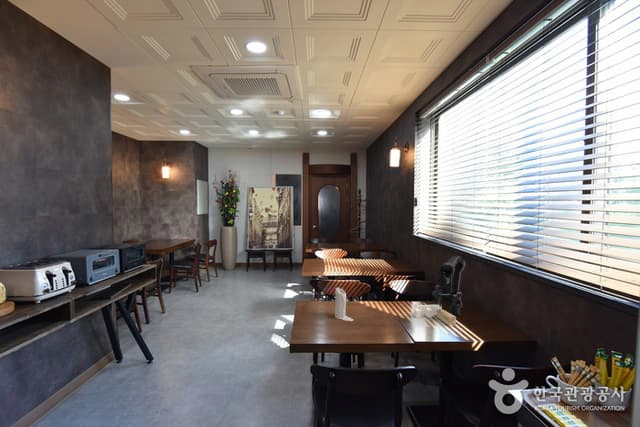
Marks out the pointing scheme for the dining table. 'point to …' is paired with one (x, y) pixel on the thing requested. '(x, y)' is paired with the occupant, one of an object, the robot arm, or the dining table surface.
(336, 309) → the white boot
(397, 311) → the dining table surface
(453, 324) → the rail
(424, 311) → the headboard
